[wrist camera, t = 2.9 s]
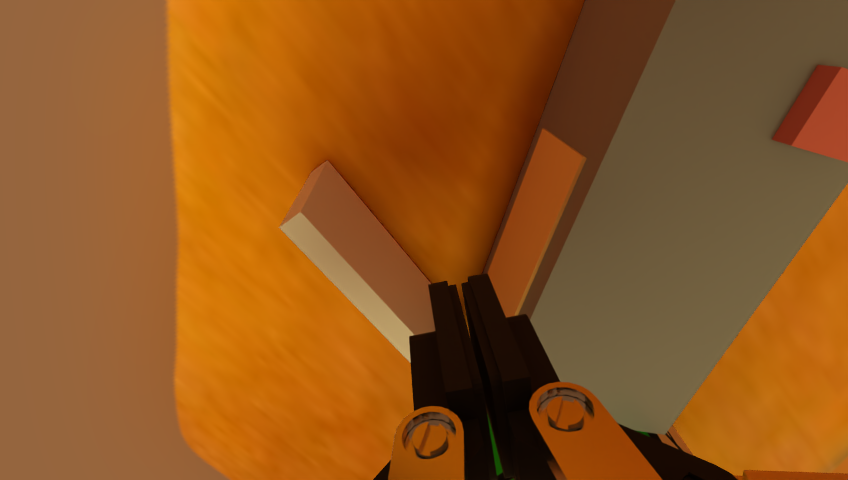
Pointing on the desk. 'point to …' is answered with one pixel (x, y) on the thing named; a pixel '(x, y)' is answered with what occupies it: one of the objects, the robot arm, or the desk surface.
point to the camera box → (672, 188)
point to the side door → (360, 257)
